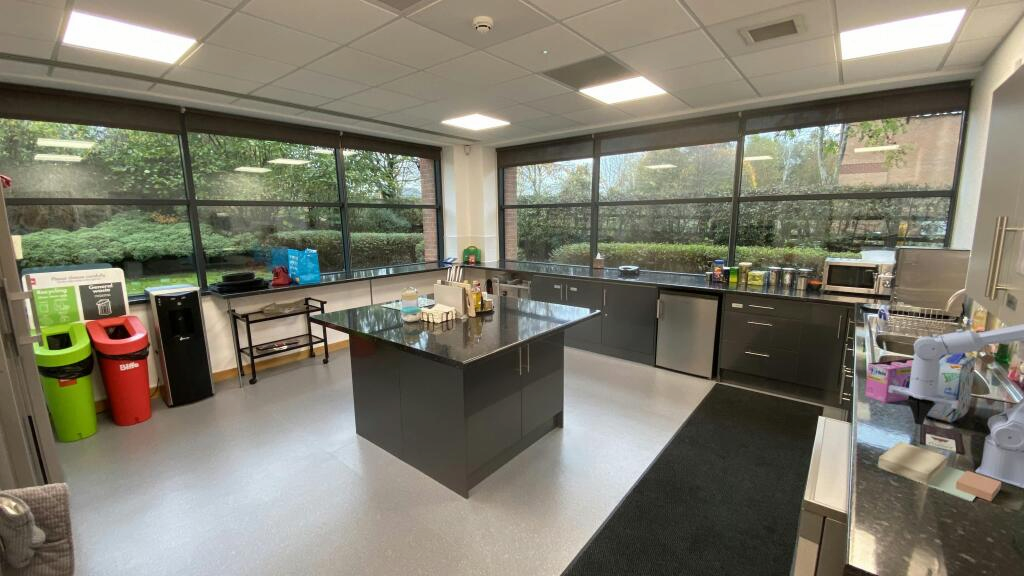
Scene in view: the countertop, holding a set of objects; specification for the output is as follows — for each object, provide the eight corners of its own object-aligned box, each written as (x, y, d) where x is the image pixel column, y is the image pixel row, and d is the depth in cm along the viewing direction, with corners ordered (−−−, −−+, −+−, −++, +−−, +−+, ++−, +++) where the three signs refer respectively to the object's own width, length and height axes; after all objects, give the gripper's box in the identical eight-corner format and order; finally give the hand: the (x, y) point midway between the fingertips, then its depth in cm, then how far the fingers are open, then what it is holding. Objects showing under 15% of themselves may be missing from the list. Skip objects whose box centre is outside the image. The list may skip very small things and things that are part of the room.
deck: (946, 466, 116) (947, 456, 116) (926, 485, 108) (928, 474, 107) (899, 451, 124) (900, 441, 124) (877, 467, 116) (878, 457, 116)
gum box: (910, 389, 171) (913, 357, 169) (933, 397, 164) (937, 363, 162) (864, 395, 166) (867, 362, 164) (885, 403, 158) (889, 368, 157)
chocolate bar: (959, 431, 135) (962, 452, 122) (959, 434, 135) (962, 455, 122) (920, 423, 141) (919, 442, 128) (920, 425, 141) (919, 445, 128)
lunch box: (932, 399, 161) (939, 344, 158) (972, 408, 153) (980, 350, 150) (915, 419, 145) (922, 357, 142) (958, 430, 137) (966, 365, 134)
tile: (967, 470, 110) (966, 477, 110) (956, 481, 105) (955, 488, 106) (1001, 481, 105) (1000, 489, 105) (991, 493, 100) (990, 501, 101)
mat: (989, 481, 109) (989, 479, 109) (971, 502, 101) (971, 500, 101) (946, 466, 116) (946, 465, 116) (926, 485, 108) (926, 484, 108)
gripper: (886, 374, 124) (881, 417, 126) (955, 389, 112) (949, 437, 113) (895, 369, 128) (890, 411, 129) (963, 383, 115) (957, 430, 117)
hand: (918, 423), depth 122 cm, fingers closed
